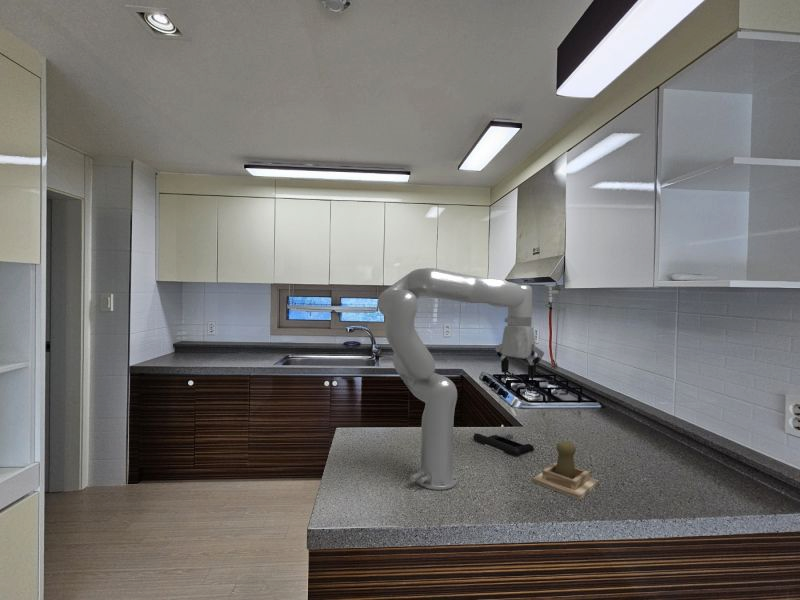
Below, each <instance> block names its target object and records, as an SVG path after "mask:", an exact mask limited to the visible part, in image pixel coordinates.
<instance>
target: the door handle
mask: <svg viewBox="0 0 800 600" xmlns="http://www.w3.org/2000/svg"><path fill="white" fill-rule="evenodd" d="M472 438H473V440H474V441H476V442H478V443H480V444H483V445H484V446H485V447H488V448H490V449H493V450H495V451H497V452H501V453H502V454H503V453H504V454H505V453H506V454H508V455H511V456H512V457H513V456H514V457H516V458H517V457H519V456H521V455H523V454H527V453H530V452H533V451H534V450H535V447H534V445H532V444H530V443H525V444H522V443H519V442H518V441H514V440H513V439H514V435H513V434H510V433H508V434H504V435H498V434H494V435H490V436H486V435H484V434H481V433H477V432H475V433H474V434H473V437H472Z"/></svg>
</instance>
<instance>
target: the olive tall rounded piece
mask: <svg viewBox="0 0 800 600" xmlns="http://www.w3.org/2000/svg"><path fill="white" fill-rule="evenodd" d="M556 449H557V453H558V455H557V460H556V462H557V466H556V471H555V473H557V474H560V475H563V476H566V477H568V478H571V479H574V478H575V477H576V476H575V467H576V466H575V459H574V457H575V456H574V455H575V454H576V450H577V449H576V446H575V445H574V443H572V442H569V441H559V442H558V443H557V445H556Z"/></svg>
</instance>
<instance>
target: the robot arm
mask: <svg viewBox="0 0 800 600" xmlns="http://www.w3.org/2000/svg"><path fill="white" fill-rule="evenodd" d="M420 297H430V298H435V299H443V300H449V301H454V302H459V303H466V304H467V303H470V304H488V305H489V306H491V307H497V308H507V317H505V318H504V322H505V323H507V324H506V325H505V326H504V329H503V333H502V339H501V340H502V341H501V343H500V344H497V345H495V347H494V348H495V351H496V355H497V356H498V357H499V360H500V362H501V363H500V368H501V369H500V370H501V373H503V374H504V373H508V372H509V363H510V361H509V360H508V359H509V357H511V358H516V359H526V360H527V361H528V363H529V364H528V368H527V377H528V378H531V379H532V378H534V377H535V376H536V372H537V365H538V363H540V361H542V359H543V357H544V354H545V352H544V351H543V350H541V348H539V347H537V346H536V339H535V338H536V337H535V331H534V327H532V318H533V317H532V313H533V311H532V310H533V288H532V286H531V285H528V284H527V285H526V284H518V283H516V282H511V281H506V280H501V279H495V278H488V277H482V276H478V275H477V276H476V275H470V274H466V273H460V272H454V271H450V270H444V269H439V268H434V267H425V268H424V267H423V268H418V269H414V270H412V271H410V272H409V273H407V274H406V275H404V276H403V277H401V279H399V280H398V281H396V282H394V283H393V284H392V285H390V286H389V287H388V288H386V289H385V290H384V291H382V292H381V293H380V295H379V297H378V299H377V308H378V312H380V313H381V314H382V315H383V316H385V317H386V320H385V326H384V327H385V329H384V331H385V337H386V340H387V342H388V344H389V345H390V348H391V349H392V351H393V352H394V353H393V355H392V363H393V368H394V369H395V371H396V373H397V374H398V375H399V377H400V378H401V380H402V381H403V383H404V384H405V386H406V387H407V388H408V390H409V391H410V392H411V393H412V395H413V396H414V397H415V398H417V399H418V400H420V401H421V402H423V403H425V405H424V410H423V413H422V416H421V439H420V440H421V445H420V466H418V471H417V472H416V473H414V474H411V475H410V476H409V480H410V482H411V483H414V482H416V483H417V484H418V485H420V486H421V487H423V488H426V489H429V490H436V491H442V490H448V489H452V488H454V487H455V486H456V485H457V484H458V476H457V474H456V473H455V472H453V468H454V467H453V466H454V465H453V464H454V462H453V459H454V455H453V454H454V421H455V420H454V419H455V417H454V416H455V410H456V409H455V408H456V405H457V400H458V390H457V387H456V384H455V383H454V382H453V380H451V379H450V378H448V377H447V376H444V375H442V374H439V373H436V372H435V371H436V362H435V359H434V356H433V355H432V354H431V352H430V351H429V350H428V348H427V346H426V344H425V343H424V342H423V340H422V338H420V336H419V333H418V332H417V330H416V327H415V319H416V316H417V312H418V309H419V302H418V299H419V298H420ZM536 354H537V355H536ZM535 355H536V356H535Z"/></svg>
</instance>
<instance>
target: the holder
mask: <svg viewBox="0 0 800 600" xmlns="http://www.w3.org/2000/svg"><path fill="white" fill-rule="evenodd" d="M556 466H557V461H556V462H554V463H552V464H551V465H549V466H547V467H546V468H544V469H543V470H542V472H541V473H539V474H538V475H535V476H534V477H532V483H533V484H537V485H539V486H542V487H544V488H546V487H547V488H546V489H549V490H552V491H555V492H558V493H560V494H563V495H565V496H568V497H570V498H573V499H576V500H579V501H581V499H583V498H584V497H585V496H586V495H588V494H589V493H590V492H591V491H593V490H594V489H595V488H596V487H597V486H598V484H599V485H600V480H599V479H596V478H593V477H591V476H590V471H589V470H585V469H582V468H579V467H576V466H575V476H576V477H575V478H574V479H571V478H568V477H566V476H563V475H560V474H557V473H555V471H556ZM592 489H593V490H592Z"/></svg>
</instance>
